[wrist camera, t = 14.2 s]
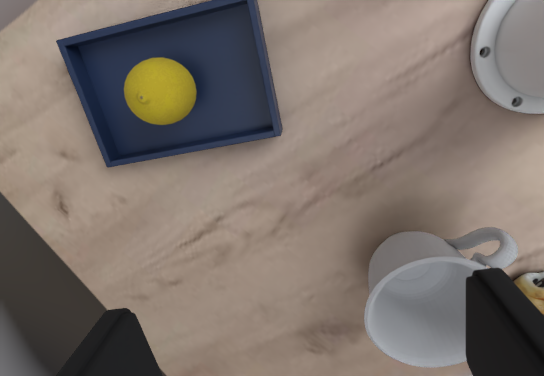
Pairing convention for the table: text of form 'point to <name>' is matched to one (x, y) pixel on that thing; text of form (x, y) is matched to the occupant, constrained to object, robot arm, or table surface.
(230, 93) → the tray
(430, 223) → the table surface
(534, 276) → the pastry
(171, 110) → the lemon
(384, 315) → the teacup
